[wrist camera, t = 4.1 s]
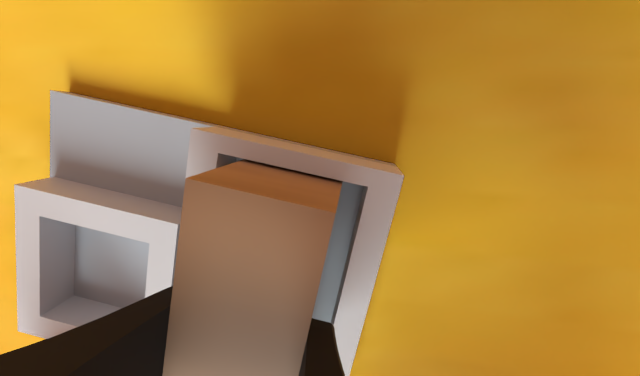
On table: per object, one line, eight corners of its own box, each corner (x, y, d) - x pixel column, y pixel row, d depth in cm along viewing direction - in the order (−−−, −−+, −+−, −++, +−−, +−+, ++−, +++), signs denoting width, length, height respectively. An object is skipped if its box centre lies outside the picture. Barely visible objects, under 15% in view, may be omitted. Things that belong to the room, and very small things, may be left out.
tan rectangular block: (301, 359, 14) (270, 498, 9) (226, 339, 14) (151, 463, 9) (344, 174, 12) (335, 212, 7) (256, 155, 12) (185, 178, 7)
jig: (337, 380, 15) (333, 433, 12) (64, 306, 16) (8, 343, 13) (394, 163, 12) (404, 175, 10) (68, 92, 13) (0, 85, 11)
